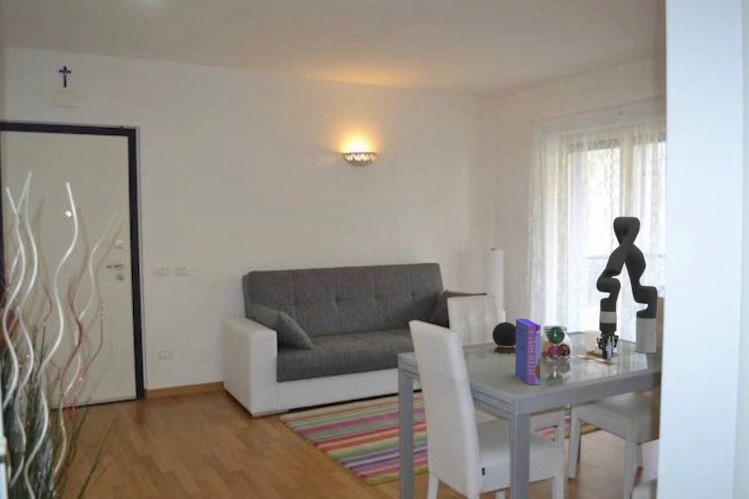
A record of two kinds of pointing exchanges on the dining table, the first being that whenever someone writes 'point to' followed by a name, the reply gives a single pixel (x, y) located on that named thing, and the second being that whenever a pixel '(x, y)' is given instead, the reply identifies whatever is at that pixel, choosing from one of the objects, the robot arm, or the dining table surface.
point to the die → (597, 349)
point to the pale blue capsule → (609, 352)
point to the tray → (591, 353)
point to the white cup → (591, 339)
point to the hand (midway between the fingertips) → (607, 357)
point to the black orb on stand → (505, 337)
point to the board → (593, 359)
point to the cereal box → (528, 351)
